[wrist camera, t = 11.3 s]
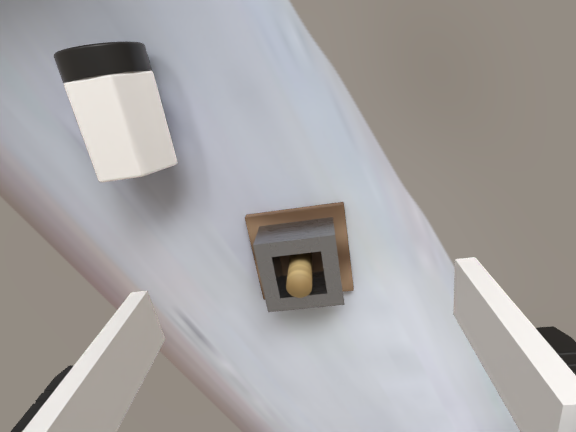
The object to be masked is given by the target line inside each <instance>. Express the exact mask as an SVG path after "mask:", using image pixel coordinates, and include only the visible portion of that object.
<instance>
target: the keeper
mask: <svg viewBox="0 0 576 432" xmlns="http://www.w3.org/2000/svg"><path fill="white" fill-rule="evenodd" d="M328 217H333V222H334V230H335V237H336V245H337V253H338V260H339V268H340V276H341V283H342V291H343V292H344V291H353V290H354V288H353V280H352V271H351V262H350V254H349V245H348V236H347V228H346V219H345V210H344V203H343V202H339V203H331V204H324V205H316V206H309V207H301V208H294V209H286V210H278V211H271V212H263V213H256V214H248V215H246V217H245V221H246V225H247V229H248V234H249V238H250V242H251V247H252V251H253V255H254V260H255V264H256V269H257V273H258V277H259V282H260V286H261V290H262V295H263V299H264V300H265V296H264V291H263V287H262V282H261V278H260V274H259V269H258V265H257V260H256V256H255V252H254V247H253V243H254V241H255V238H256V235H257V232H258V229H259V226H266V225H274V224H282V223H289V222H297V221H305V220H313V219H320V218H328ZM280 261H281V266H282V271H283V275H287V283H286V289H287V291H288V293H289V294H290V295H292V296H294V297H297V298H302V297H306V296H307V295H309V294H310V292H311V290H312V272H318V271H324V268H323V261H322V255H321V251H319V252H311V253H302V254H294V255H285V256H280Z"/></svg>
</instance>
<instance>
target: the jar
mask: <svg viewBox="0 0 576 432" xmlns="http://www.w3.org/2000/svg"><path fill="white" fill-rule="evenodd" d="M54 58H55V61H56V64H57V67H58V70H59V72H60V75H61V78H62V81H63V83H64V87H65V90H66V93H67V95H68V98H69V101H70V104H71V106H72V109H73V112H74V115H75V117H76V120H77V123H78V126H79V128H80V131H81V134H82V137H83V139H84V142H85V145H86V148H87V150H88V153H89V156H90V159H91V161H92V164H93V167H94V170H95V172H96V175H97V178H98V181H99V182H109V181H116V180H123V179H130V178H138V177H143V176H146V175H149V174H152V173H154V172H157V171H160V170H163V169H166V168H169V167H171V166H174V165H176V164H177V163H178V161H177V158H176V154H175V150H174V147H173V143H172V139H171V136H170V132H169V128H168V125H167V121H166V117H165V114H164V110H163V106H162V103H161V99H160V95H159V92H158V88H157V84H156V81H155V77H154V73H153V72H152V71H151V67H150V62H149V59H148V56H147V52H146V48H145V45H144V44H142V43H139V42H109V43H98V44H90V45H83V46H77V47H72V48H68V49H64V50H61V51H58V52H56V53H55V54H54Z"/></svg>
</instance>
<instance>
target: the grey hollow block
mask: <svg viewBox="0 0 576 432" xmlns="http://www.w3.org/2000/svg"><path fill="white" fill-rule="evenodd" d="M253 247H254V252H255V256H256V260H257V265H258V269H259V274H260V278H261V282H262V287H263V291H264V296H265V300H266V304H267V309H268V312H274V311H284V310H294V309H305V308H315V307H325V306H335V305H344V299H343V291H342V283H341V276H340V268H339V260H338V253H337V245H336V237H335V230H334V222H333V217H328V218H320V219H313V220H305V221H297V222H289V223H282V224H274V225H266V226H259V229H258V232H257V235H256V238H255V241H254V243H253ZM319 251H321V255H322V261H323V268H324V271H318V272H312V290H311V292H310V294H309V295H307V296H306V297H302V298H297V297H294V296H292V295H290V294H289V293H288V291H287V289H286V283H287V275H283V271H282V266H281V261H280V256H285V255H294V254H302V253H311V252H319Z"/></svg>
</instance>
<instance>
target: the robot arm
mask: <svg viewBox="0 0 576 432" xmlns="http://www.w3.org/2000/svg"><path fill="white" fill-rule="evenodd" d="M453 315H454V316H455V318H456V320H457V322H458V323H459V325H460V327H461V329H462V330H463V332H464V334H465V336H466V337H467V339H468V341H469V343H470V344H471V346H472V348H473V350H474V351H475V353H476V355H477V357H478V358H479V360H480V362H481V364H482V365H483V367H484V369H485V371H486V372H487V374H488V376H489V378H490V379H491V381H492V383H493V385H494V386H495V388H496V390H497V392H498V393H499V395H500V397H501V399H502V400H503V402H504V404H505V406H506V407H507V409H508V411H509V413H510V414H511V416H512V418H513V420H514V421H515V423H516V425H517V427H518V428H519V430H520V432H576V342H575V341H574V340H573V339H572V338H571V337H569V336H568V335H566V334H565V333H563V332H561V331H560V330H558V329H557V328H555V327H541V328H535V327H534V326H533V325H532V324H531V322H530V321H529V320H528V319H527V318H526V317H525V315H524V314H523V313H522V312H521V311H520V310H519V308H518V307H517V306H516V305H515V304H514V302H513V301H512V300H511V299H510V298H509V297H508V295H507V294H506V293H505V292H504V291H503V290H502V288H501V287H500V286H499V285H498V284H497V282H496V281H495V280H494V279H493V278H492V277H491V276H490V274H489V273H488V272H487V271H486V270H485V268H484V267H483V266H482V265H481V264H480V263H479V261H478V260H477V259H476V258H475V257H472V258H462V259H455V276H454V311H453ZM164 341H165V337H164V334H163V332H162V329H161V326H160V323H159V321H158V318H157V315H156V313H155V310H154V307H153V304H152V302H151V299H150V296H149V294H148V291H140V292H131V293H130V295H129V296H128V297H127V298H126V300H125V301H124V302H123V304H122V305H121V306H120V307H119V309H118V310H117V311H116V313H115V314H114V315H113V316H112V318H111V319H110V320H109V321H108V323H107V324H106V325H105V327H104V328H103V330H102V331H101V332H100V333H99V334H98V336H97V337H96V338H95V339H94V341H93V342H92V343H91V345H90V346H89V347H88V348H87V350H86V351H85V352H84V353H83V355H82V356H81V357H80V359H79V360H78V361H77V362H76V364H75V365H74V366H68V367H67V368H66V369H65V370H63V371H62V372H61V373H60V374H58V375H57V376H56V377H55V378H54V379H53V380H52V381H51V383H50V384H49V385H48V386H47V388H46V389H45V391H44V393H42V394H41V395H40V396H39V398H38V399H37V400H36V403H35V404H33V405H32V406H31V407H30V409H29V410H28V411H27V412H26V413H25V415H24V416H23V417H22V419H21V420H20V421H19V422H18V423H17V424H16V426H15V427H14V428H13V429H12V431H11V432H117V430H118V428H119V426H120V424H121V422H122V420H123V418H124V417H125V415H126V413H127V411H128V409H129V407H130V405H131V403H132V401H133V399H134V398H135V395H136V394H137V392H138V390H139V388H140V386H141V384H142V382H143V380H144V379H145V377H146V375H147V373H148V371H149V369H150V367H151V365H152V363H153V361H154V360H155V358H156V356H157V354H158V352H159V350H160V348H161V346H162V344H163V342H164Z"/></svg>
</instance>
